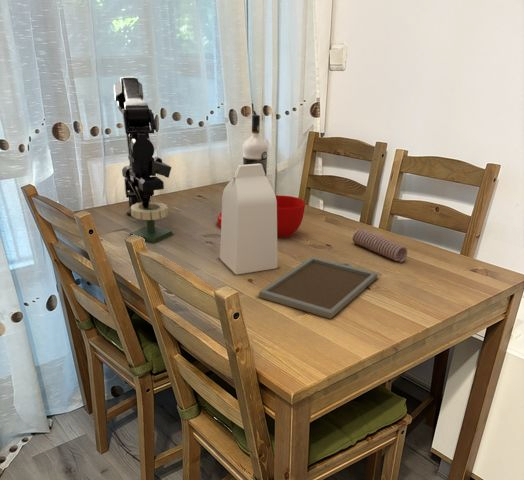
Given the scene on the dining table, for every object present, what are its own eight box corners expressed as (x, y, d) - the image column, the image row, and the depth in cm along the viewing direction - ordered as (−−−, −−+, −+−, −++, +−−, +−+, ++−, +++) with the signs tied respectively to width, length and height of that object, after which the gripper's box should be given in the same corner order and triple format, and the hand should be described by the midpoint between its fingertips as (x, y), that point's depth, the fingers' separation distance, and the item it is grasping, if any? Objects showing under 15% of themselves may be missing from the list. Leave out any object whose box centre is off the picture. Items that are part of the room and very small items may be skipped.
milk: (236, 274, 144) (236, 172, 130) (219, 258, 153) (219, 161, 139) (277, 268, 148) (282, 168, 135) (259, 253, 157) (262, 158, 144)
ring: (123, 215, 161) (123, 208, 160) (147, 206, 169) (146, 199, 168) (152, 222, 157) (151, 214, 156) (174, 213, 165) (174, 205, 163)
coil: (410, 246, 153) (364, 227, 166) (399, 247, 151) (353, 228, 163) (406, 262, 156) (360, 242, 168) (395, 263, 153) (350, 243, 165)
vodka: (254, 201, 199) (256, 111, 183) (272, 208, 193) (276, 115, 178) (235, 206, 193) (235, 114, 177) (253, 213, 188) (255, 118, 172)
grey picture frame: (258, 291, 132) (316, 253, 154) (258, 297, 133) (316, 258, 155) (331, 313, 124) (381, 269, 146) (330, 319, 124) (380, 275, 146)
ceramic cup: (284, 221, 182) (286, 190, 176) (310, 238, 169) (313, 205, 164) (248, 225, 177) (249, 194, 171) (272, 243, 164) (273, 210, 159)
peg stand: (129, 237, 165) (127, 209, 160) (149, 228, 171) (147, 202, 167) (153, 243, 161) (151, 215, 157) (172, 234, 168) (171, 207, 163)
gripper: (179, 157, 154) (182, 212, 162) (155, 143, 167) (158, 195, 176) (141, 160, 149) (145, 217, 157) (119, 146, 162) (124, 199, 171)
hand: (144, 206), depth 165 cm, fingers closed on ring, 2 cm apart
